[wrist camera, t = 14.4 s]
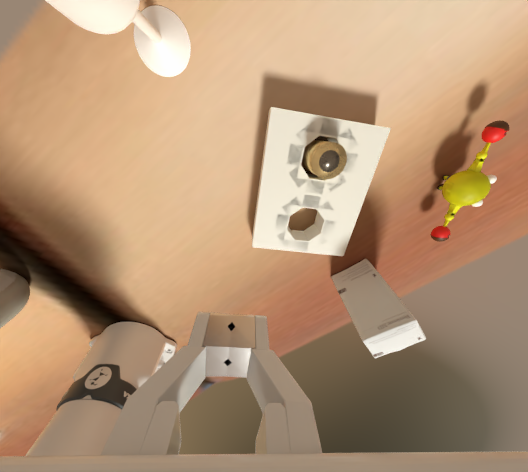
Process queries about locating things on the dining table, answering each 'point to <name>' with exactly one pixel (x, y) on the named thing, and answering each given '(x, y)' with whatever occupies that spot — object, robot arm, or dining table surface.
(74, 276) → the dining table surface
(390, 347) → the skincare box
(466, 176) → the toy figure
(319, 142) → the bushing
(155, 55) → the champagne flute
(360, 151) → the jig
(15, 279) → the grey bottle
